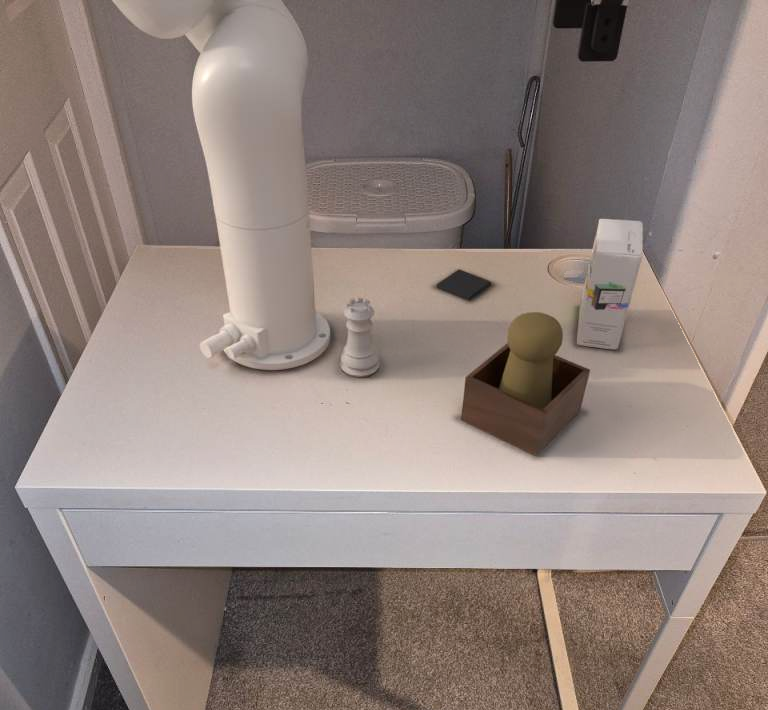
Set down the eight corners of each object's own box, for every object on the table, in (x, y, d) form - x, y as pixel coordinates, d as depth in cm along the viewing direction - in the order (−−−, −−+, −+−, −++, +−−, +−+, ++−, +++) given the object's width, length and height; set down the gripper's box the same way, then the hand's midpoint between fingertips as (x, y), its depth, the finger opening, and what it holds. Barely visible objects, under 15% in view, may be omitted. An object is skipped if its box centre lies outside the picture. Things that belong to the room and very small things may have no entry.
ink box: (578, 307, 94) (598, 214, 86) (619, 312, 93) (643, 219, 85) (574, 345, 88) (596, 250, 80) (618, 351, 88) (644, 255, 79)
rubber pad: (468, 300, 95) (469, 297, 95) (436, 287, 97) (436, 284, 97) (490, 284, 98) (491, 281, 97) (458, 272, 100) (459, 269, 99)
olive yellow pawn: (554, 432, 77) (575, 339, 69) (494, 431, 77) (508, 338, 69) (546, 395, 81) (565, 303, 73) (490, 394, 81) (502, 302, 73)
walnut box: (536, 456, 75) (544, 413, 71) (460, 419, 79) (465, 377, 75) (580, 412, 80) (590, 369, 76) (507, 379, 84) (513, 337, 80)
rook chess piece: (385, 360, 86) (385, 296, 80) (372, 382, 83) (372, 318, 77) (347, 352, 87) (345, 289, 81) (334, 374, 84) (331, 310, 78)
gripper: (551, -236, 60) (522, 17, 72) (608, -225, 48) (561, 75, 60) (645, -235, 60) (599, 16, 73) (724, -224, 48) (654, 74, 61)
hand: (582, 43), depth 66 cm, fingers open, 9 cm apart
